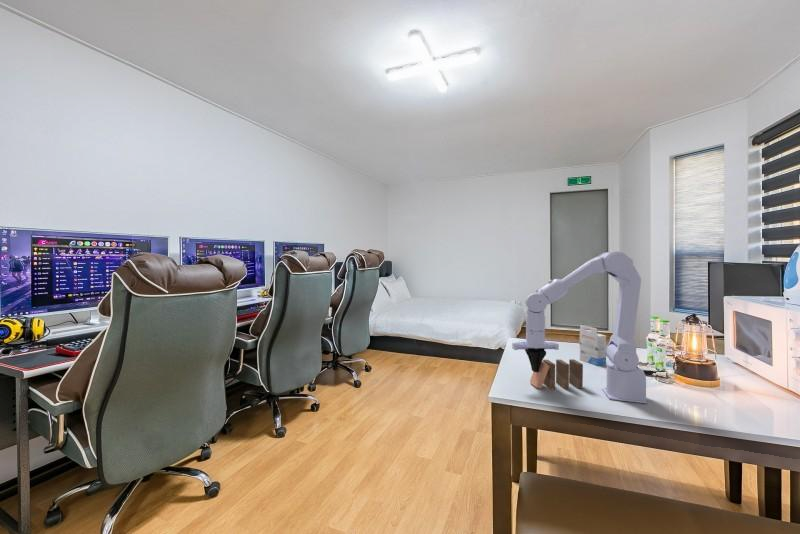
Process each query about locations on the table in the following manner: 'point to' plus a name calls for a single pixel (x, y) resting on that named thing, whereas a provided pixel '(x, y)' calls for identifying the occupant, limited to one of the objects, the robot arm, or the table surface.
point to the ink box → (592, 346)
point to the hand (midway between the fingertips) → (535, 371)
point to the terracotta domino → (540, 375)
